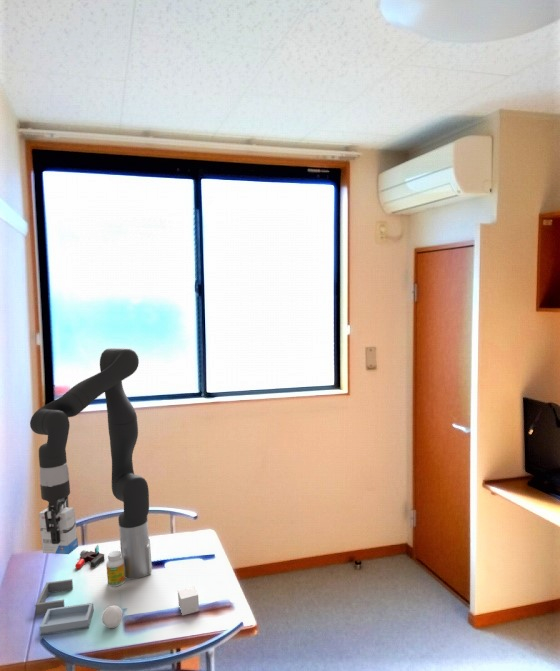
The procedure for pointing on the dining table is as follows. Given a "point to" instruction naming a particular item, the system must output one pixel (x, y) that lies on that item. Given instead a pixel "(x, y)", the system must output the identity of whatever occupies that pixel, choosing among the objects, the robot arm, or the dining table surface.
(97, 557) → the toy gun
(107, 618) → the white ball
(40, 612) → the cradle
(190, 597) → the white cube
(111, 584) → the supplement bottle
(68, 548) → the ink box
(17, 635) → the dining table surface
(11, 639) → the dining table surface
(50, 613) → the tray
